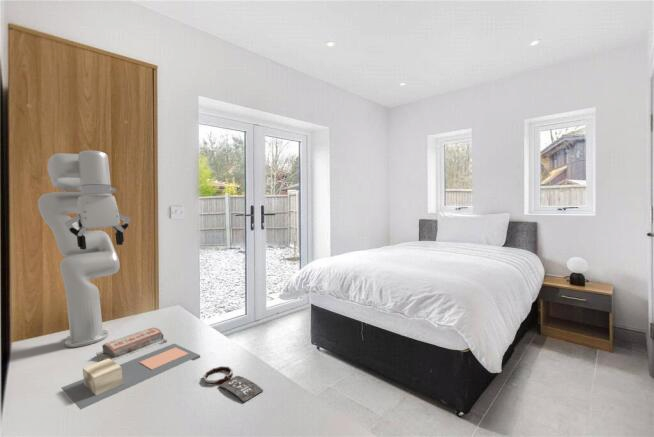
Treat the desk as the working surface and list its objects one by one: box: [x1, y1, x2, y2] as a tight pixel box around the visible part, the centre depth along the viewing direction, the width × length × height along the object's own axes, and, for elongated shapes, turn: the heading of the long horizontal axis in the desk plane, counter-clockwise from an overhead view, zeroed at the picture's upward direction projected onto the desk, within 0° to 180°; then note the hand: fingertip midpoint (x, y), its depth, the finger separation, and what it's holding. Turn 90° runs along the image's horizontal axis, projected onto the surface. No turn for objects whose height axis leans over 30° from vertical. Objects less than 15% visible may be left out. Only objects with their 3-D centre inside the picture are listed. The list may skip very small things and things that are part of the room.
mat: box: [61, 343, 201, 410], centre depth 90 cm, size 16×30×1 cm, turn 143°
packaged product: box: [96, 327, 168, 362], centre depth 105 cm, size 18×5×10 cm
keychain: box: [202, 365, 264, 403], centre depth 81 cm, size 8×19×2 cm, turn 49°
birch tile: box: [82, 358, 123, 395], centre depth 83 cm, size 9×6×4 cm, turn 53°
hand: (102, 246), depth 98 cm, fingers open, 9 cm apart
